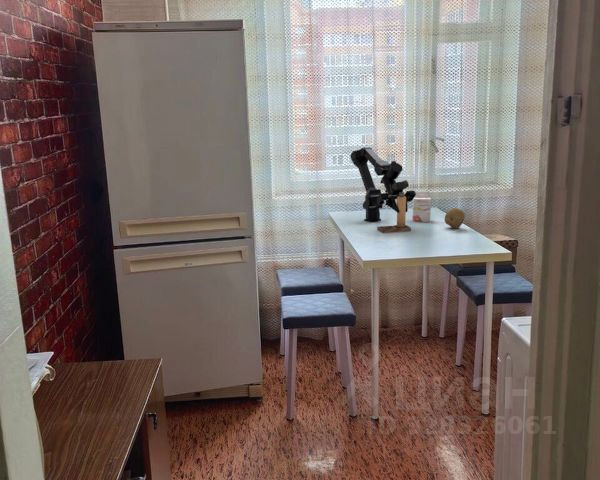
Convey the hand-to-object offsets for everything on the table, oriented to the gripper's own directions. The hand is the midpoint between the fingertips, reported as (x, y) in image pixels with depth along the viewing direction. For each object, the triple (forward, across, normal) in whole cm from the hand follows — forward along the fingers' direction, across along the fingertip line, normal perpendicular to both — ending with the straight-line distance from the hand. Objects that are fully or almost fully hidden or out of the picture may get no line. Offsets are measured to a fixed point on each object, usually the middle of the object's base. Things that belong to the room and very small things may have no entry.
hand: (402, 212), depth 289 cm
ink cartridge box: (-4, +21, +18) cm, 28 cm away
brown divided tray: (+5, -3, +8) cm, 10 cm away
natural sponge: (+12, +24, +2) cm, 27 cm away
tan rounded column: (+4, 0, +6) cm, 7 cm away
